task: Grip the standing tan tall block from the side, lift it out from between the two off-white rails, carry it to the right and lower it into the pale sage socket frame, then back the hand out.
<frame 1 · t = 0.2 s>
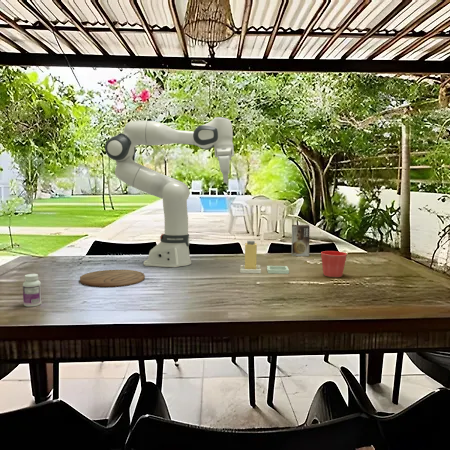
hand: (226, 182, 204), 38 cm above the table, tool pointing down, fingers open, 8 cm apart
pill bottle: (32, 305, 141), on the table
socket b: (277, 271, 194), on the table
flower pot: (333, 275, 187), on the table
socket a: (250, 270, 195), on the table
tan tall block: (250, 270, 195), on the table
coffee box: (300, 255, 236), on the table
trivet: (112, 281, 176), on the table
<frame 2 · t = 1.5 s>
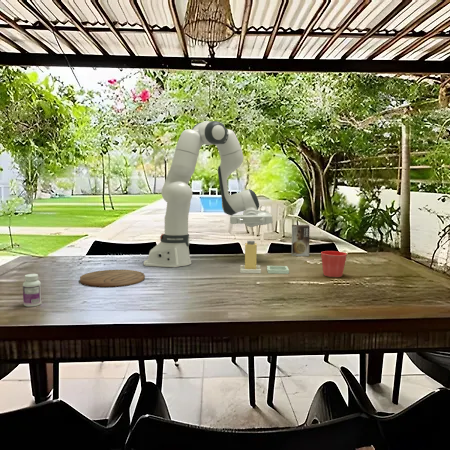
hand: (251, 221, 205), 21 cm above the table, tool horizontal, fingers open, 8 cm apart
nothing on the table moved.
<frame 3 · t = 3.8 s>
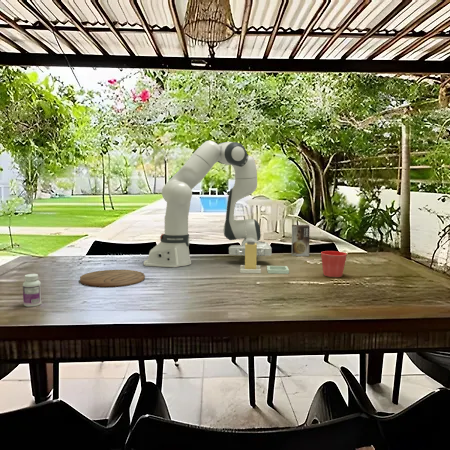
hand: (250, 253, 203), 6 cm above the table, tool horizontal, fingers open, 8 cm apart
nothing on the table moved.
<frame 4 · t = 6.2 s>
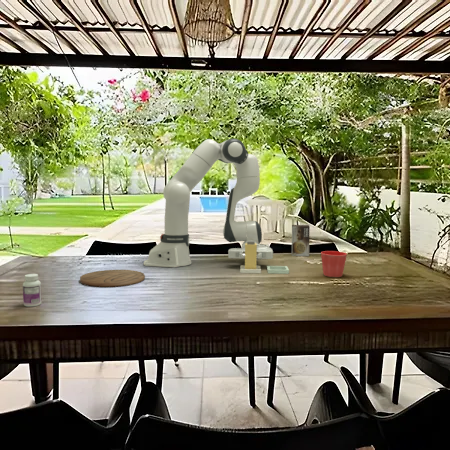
hand: (250, 256, 193), 7 cm above the table, tool horizontal, fingers closed on tan tall block, 5 cm apart
tan tall block: (250, 270, 195), on the table, touching gripper
everything else where it was.
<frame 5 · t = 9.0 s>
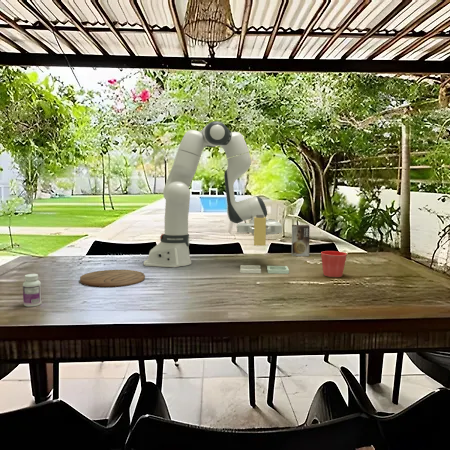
hand: (259, 230, 192), 18 cm above the table, tool horizontal, fingers closed on tan tall block, 5 cm apart
tan tall block: (259, 244, 194), point 12 cm above the table, touching gripper
everything else where it was.
when the fingers open (7 cm above the table, at t = 12.1 s): tan tall block stays where it is, on the table.
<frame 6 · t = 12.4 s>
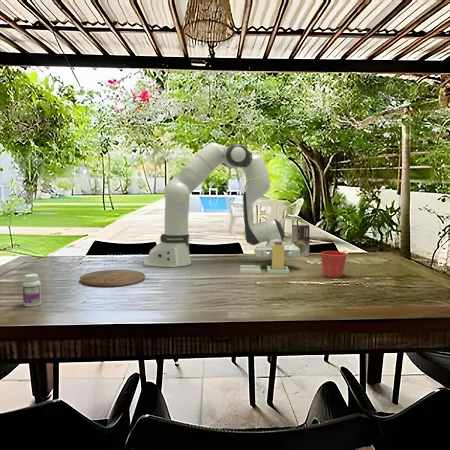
hand: (278, 254, 193), 7 cm above the table, tool horizontal, fingers open, 8 cm apart
tan tall block: (277, 271, 194), on the table
everything else where it was.
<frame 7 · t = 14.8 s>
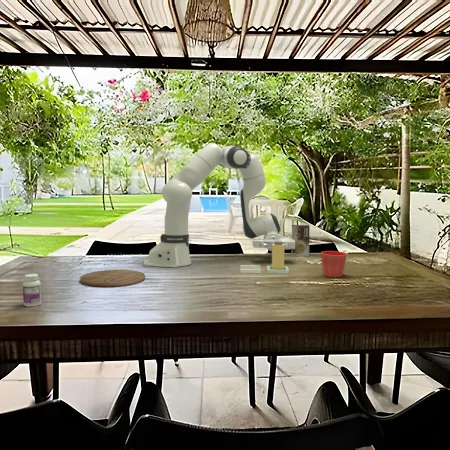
hand: (274, 246, 206), 9 cm above the table, tool horizontal, fingers open, 8 cm apart
nothing on the table moved.
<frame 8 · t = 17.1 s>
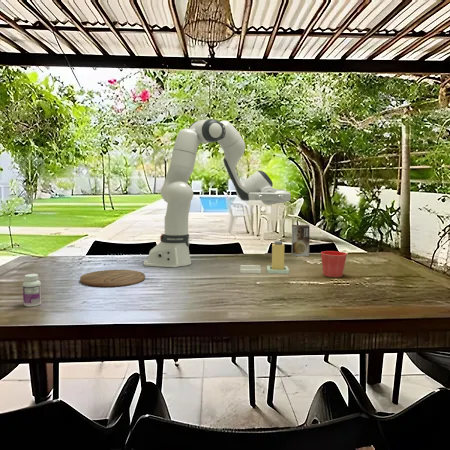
hand: (270, 197, 207), 32 cm above the table, tool horizontal, fingers open, 8 cm apart
nothing on the table moved.
at the end: tan tall block 0.0 cm off-centre on the socket b, point 0.0 cm above the socket b's base; tan tall block tilted 0°; the gripper is holding nothing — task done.
